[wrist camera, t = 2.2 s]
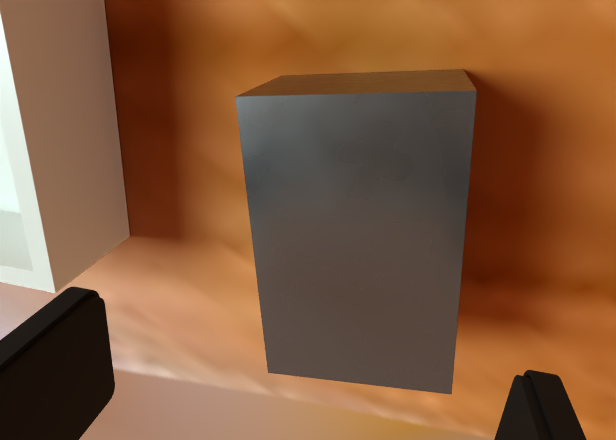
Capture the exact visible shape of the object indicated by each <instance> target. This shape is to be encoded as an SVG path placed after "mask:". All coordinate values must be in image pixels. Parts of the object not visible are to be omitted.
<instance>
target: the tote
mask: <svg viewBox="0 0 616 440" xmlns="http://www.w3.org/2000/svg"><path fill="white" fill-rule="evenodd" d="M129 237H130V232H129V223H128V214H127V205H126V196H125V187H124V178H123V168H122V159H121V150H120V141H119V132H118V123H117V114H116V104H115V95H114V86H113V77H112V68H111V59H110V50H109V40H108V31H107V22H106V13H105V4H104V0H0V282H4V283H8V284H13V285H18V286H23V287H28V288H33V289H38V290H42V291H47V292H52V293H56V292H58V291H59V290H60V289H62V288H63V287H64V286H66V285H67V284H68V283H70V282H71V281H72V280H73V279H75V278H76V277H77V276H79V275H80V274H81V273H83V272H84V271H85V270H87V269H88V268H89V267H91V266H92V265H93V264H94V263H96V262H97V261H98V260H100V259H101V258H102V257H104V256H105V255H106V254H108V253H109V252H110V251H112V250H113V249H114V248H115V247H117V246H118V245H119V244H121V243H122V242H123V241H125V240H126V239H127V238H129Z"/></svg>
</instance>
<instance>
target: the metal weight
mask: <svg viewBox="0 0 616 440" xmlns="http://www.w3.org/2000/svg"><path fill="white" fill-rule="evenodd" d="M476 95H477V90H476V88H475V87H474V85H473V84H472V82H471V81H470V79H469V77H468V76H467V74H466V73H465V71H464V70H463V69H455V70H427V71H399V72H371V73H343V74H315V75H287V76H280V77H278V78H276V79H273V80H271V81H269V82H267V83H264V84H262V85H260V86H258V87H256V88H253V89H251V90H249V91H247V92H245V93H242V94H240V95H238V96H236V97H235V98H236V106H237V115H238V123H239V132H240V140H241V148H242V157H243V165H244V174H245V182H246V190H247V199H248V207H249V216H250V224H251V233H252V241H253V249H254V258H255V266H256V275H257V283H258V292H259V300H260V308H261V317H262V325H263V334H264V342H265V351H266V359H267V367H268V373H275V374H283V375H292V376H300V377H309V378H317V379H326V380H334V381H343V382H351V383H360V384H368V385H376V386H385V387H393V388H402V389H410V390H419V391H427V392H436V393H444V394H452V382H453V370H454V358H455V346H456V334H457V322H458V310H459V298H460V286H461V274H462V262H463V251H464V239H465V227H466V215H467V203H468V191H469V179H470V167H471V155H472V143H473V131H474V119H475V107H476Z"/></svg>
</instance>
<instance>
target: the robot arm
mask: <svg viewBox="0 0 616 440" xmlns="http://www.w3.org/2000/svg"><path fill="white" fill-rule="evenodd" d="M114 388H115V382H114V374H113V366H112V358H111V350H110V342H109V334H108V326H107V318H106V310H105V303H104V300H103V299H102V298H100V297H99V294H98V293H97V292H96V291H94V290H89V289H84V288H78V287H70V288H68V289H66V290H65V291H63V292H62V293H61V294H60V295H58V296H57V297H56V298H54V299H53V300H52V301H51V302H49V303H48V304H47V305H45V306H44V307H43V308H41V309H40V310H39V311H38V312H36V313H35V314H34V315H32V316H31V317H30V318H29V319H27V320H26V321H25V322H23V323H22V324H21V325H19V326H18V327H17V328H16V329H14V330H13V331H12V332H10V333H9V334H8V335H7V336H5V337H4V338H3V339H1V340H0V440H79V439H80V437H81V436H82V435H83V434H84V432H85V431H86V430H87V429H88V427H89V426H90V425H91V424H92V422H93V421H94V420H95V419H96V417H97V416H98V415H99V413H100V412H101V411H102V410H103V408H104V407H105V406H106V405H107V403H108V402H109V401H110V399H111V398H112V395H113V393H114ZM494 440H586V437H585V435H584V433H583V430H582V428H581V426H580V423H579V421H578V419H577V416H576V414H575V412H574V409H573V407H572V405H571V402H570V400H569V398H568V395H567V393H566V390H565V388H564V386H563V383H562V381H561V379H560V378H559V376H557V375H554V374H549V373H543V372H538V371H533V370H527V371H526V372H525V373H524V376H520V375H516V376H515V378H514V380H513V383H512V386H511V389H510V392H509V396H508V399H507V402H506V405H505V408H504V411H503V414H502V418H501V421H500V424H499V427H498V430H497V433H496V436H495V439H494Z"/></svg>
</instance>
